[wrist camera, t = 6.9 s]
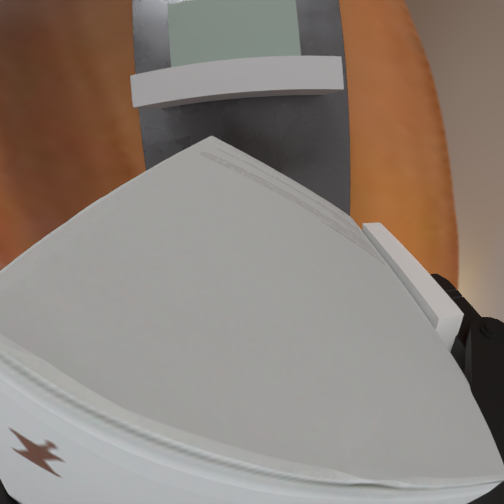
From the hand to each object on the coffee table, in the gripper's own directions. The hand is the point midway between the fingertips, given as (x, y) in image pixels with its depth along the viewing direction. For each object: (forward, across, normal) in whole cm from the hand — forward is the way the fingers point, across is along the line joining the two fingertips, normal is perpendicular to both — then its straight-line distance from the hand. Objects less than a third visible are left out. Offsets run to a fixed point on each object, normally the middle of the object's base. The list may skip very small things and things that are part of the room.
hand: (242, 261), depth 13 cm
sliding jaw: (+13, 0, +11) cm, 16 cm away
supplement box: (+2, 0, 0) cm, 2 cm away
